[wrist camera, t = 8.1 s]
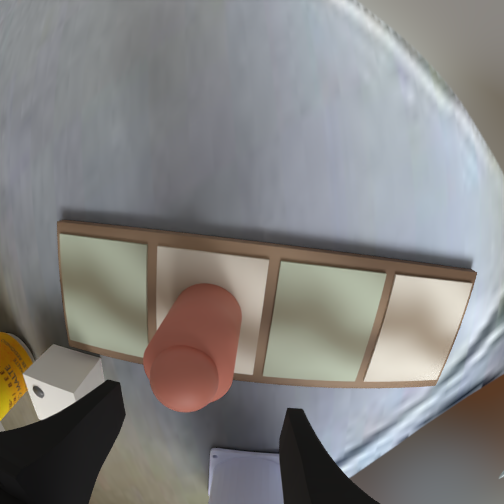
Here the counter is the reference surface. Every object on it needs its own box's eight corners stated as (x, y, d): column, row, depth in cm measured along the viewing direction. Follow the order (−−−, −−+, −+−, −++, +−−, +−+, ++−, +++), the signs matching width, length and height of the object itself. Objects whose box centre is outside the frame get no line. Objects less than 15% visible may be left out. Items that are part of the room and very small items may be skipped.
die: (108, 401, 24) (86, 438, 19) (63, 386, 24) (38, 419, 19) (101, 357, 23) (73, 394, 18) (53, 343, 23) (22, 374, 18)
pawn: (238, 348, 20) (224, 440, 13) (173, 339, 20) (133, 423, 13) (245, 287, 19) (232, 368, 11) (174, 278, 19) (122, 349, 11)
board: (431, 380, 22) (436, 387, 21) (73, 341, 22) (67, 347, 21) (471, 269, 19) (478, 273, 18) (63, 219, 20) (55, 222, 19)
